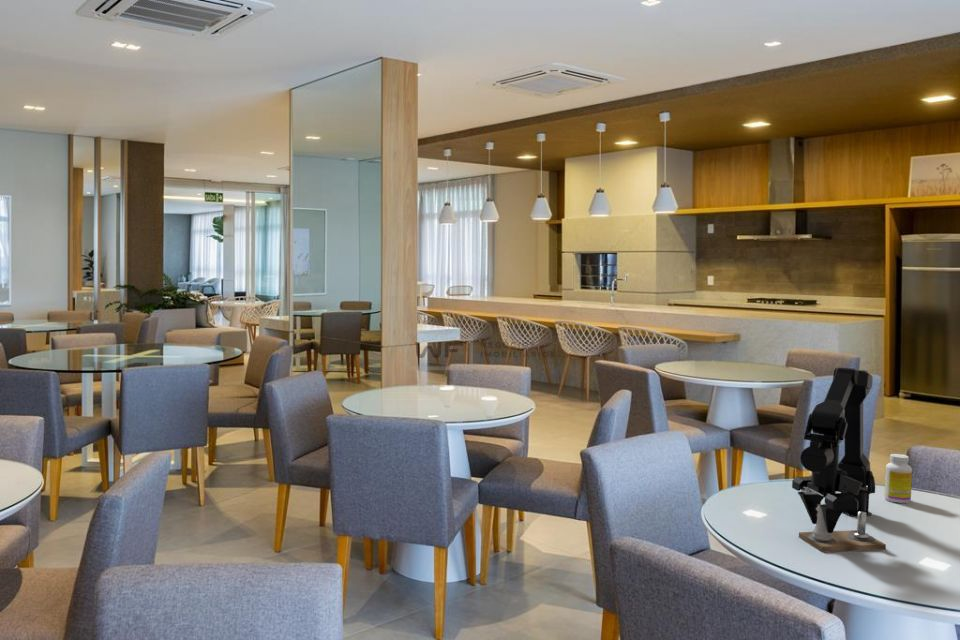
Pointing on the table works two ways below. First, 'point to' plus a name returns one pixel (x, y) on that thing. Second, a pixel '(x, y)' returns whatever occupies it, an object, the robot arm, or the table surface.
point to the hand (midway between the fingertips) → (822, 528)
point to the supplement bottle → (898, 479)
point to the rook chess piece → (821, 527)
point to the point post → (861, 526)
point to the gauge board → (843, 542)
